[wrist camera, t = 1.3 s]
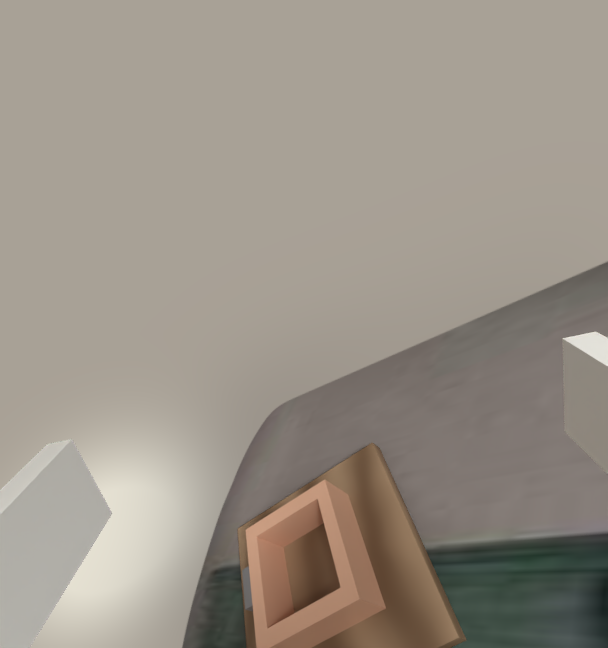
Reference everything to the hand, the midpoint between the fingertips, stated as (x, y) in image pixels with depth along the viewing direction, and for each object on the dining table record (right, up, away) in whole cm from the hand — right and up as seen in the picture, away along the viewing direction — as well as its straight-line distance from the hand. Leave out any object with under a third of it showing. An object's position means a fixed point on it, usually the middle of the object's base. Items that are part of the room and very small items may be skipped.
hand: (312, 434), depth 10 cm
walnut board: (+2, -20, +24) cm, 31 cm away
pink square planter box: (+1, -19, +23) cm, 30 cm away
